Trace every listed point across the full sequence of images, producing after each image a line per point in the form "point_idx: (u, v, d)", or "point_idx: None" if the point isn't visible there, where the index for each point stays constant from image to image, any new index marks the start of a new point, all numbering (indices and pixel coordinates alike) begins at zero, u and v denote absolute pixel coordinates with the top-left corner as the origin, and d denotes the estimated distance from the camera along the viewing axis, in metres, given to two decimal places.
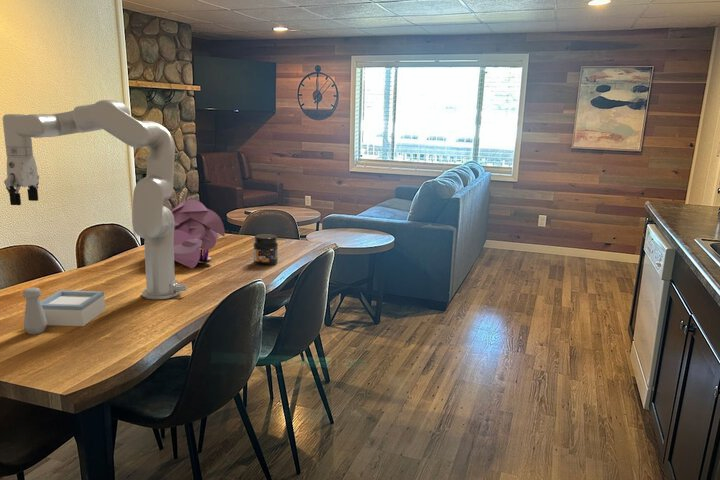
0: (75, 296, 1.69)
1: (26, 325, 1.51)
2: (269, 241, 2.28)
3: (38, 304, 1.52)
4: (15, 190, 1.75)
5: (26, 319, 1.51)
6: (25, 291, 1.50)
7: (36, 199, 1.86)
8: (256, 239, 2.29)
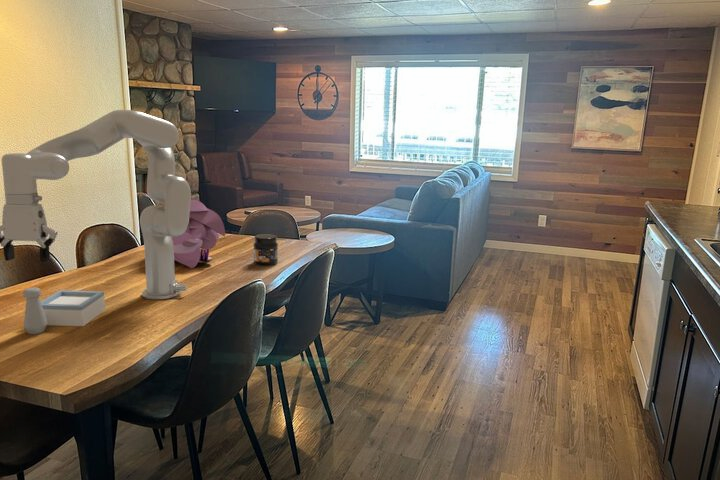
0: (75, 296, 1.69)
1: (26, 325, 1.51)
2: (269, 241, 2.28)
3: (39, 304, 1.52)
4: None
5: (26, 319, 1.51)
6: (25, 291, 1.50)
7: (14, 256, 1.50)
8: (256, 239, 2.29)
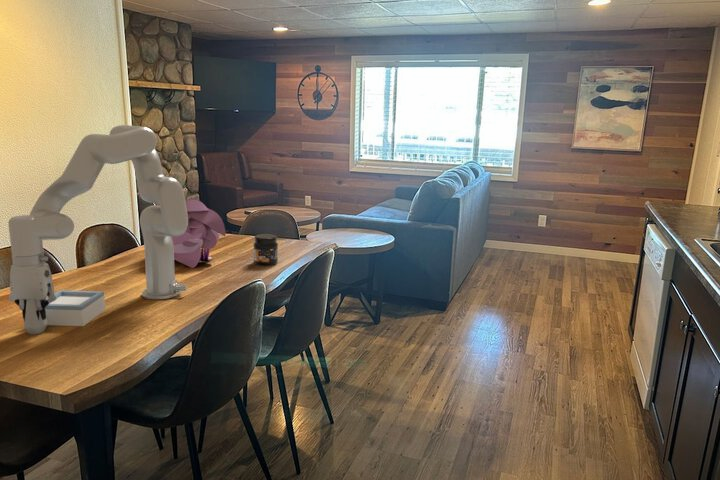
0: (75, 296, 1.69)
1: (27, 325, 1.51)
2: (269, 241, 2.28)
3: None
4: None
5: (26, 319, 1.51)
6: None
7: None
8: (256, 239, 2.29)
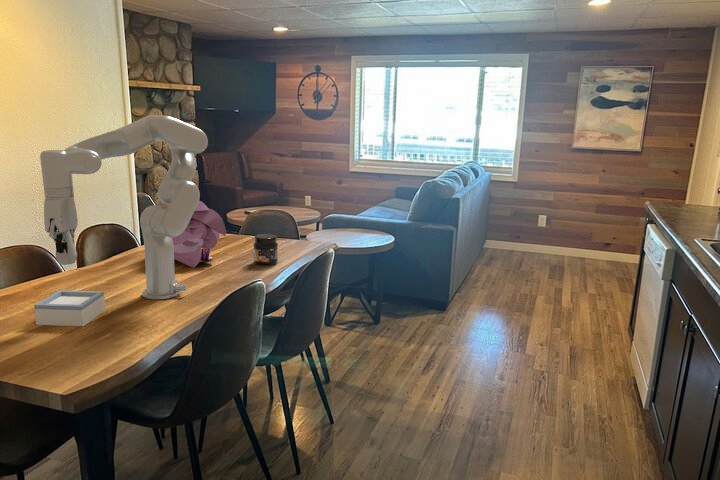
0: (75, 296, 1.69)
1: (73, 254, 1.60)
2: (269, 241, 2.28)
3: None
4: None
5: (71, 249, 1.60)
6: None
7: None
8: (256, 239, 2.29)
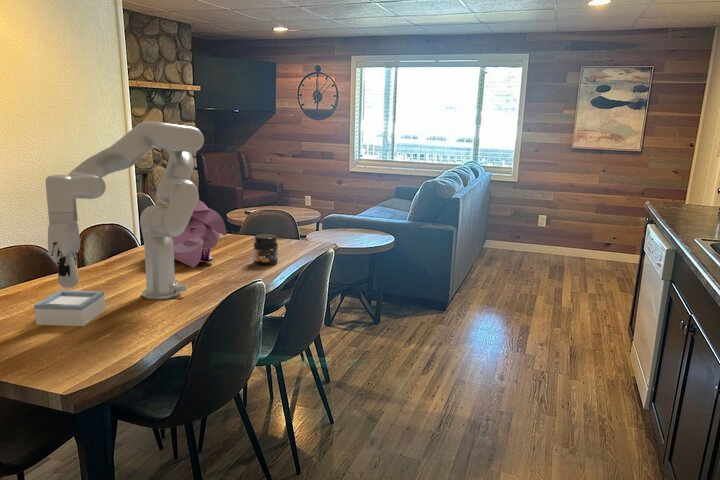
0: (75, 296, 1.69)
1: (76, 277, 1.62)
2: (269, 241, 2.28)
3: None
4: None
5: (73, 272, 1.62)
6: None
7: None
8: (256, 239, 2.29)
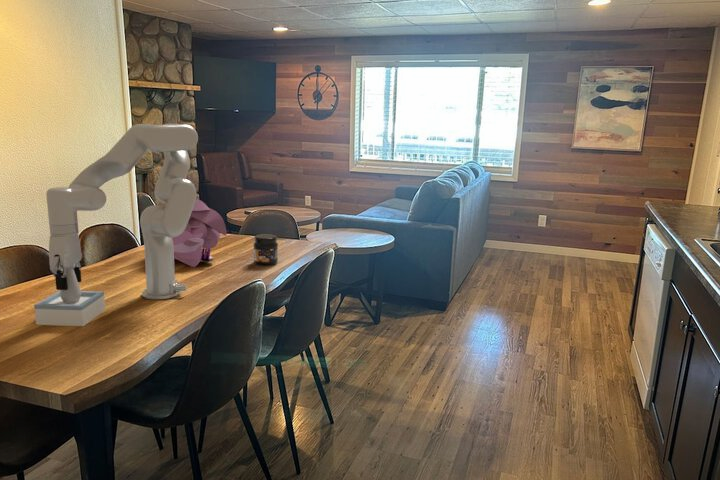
0: None
1: (78, 293, 1.63)
2: (269, 241, 2.28)
3: None
4: None
5: (75, 288, 1.63)
6: None
7: None
8: (256, 239, 2.29)
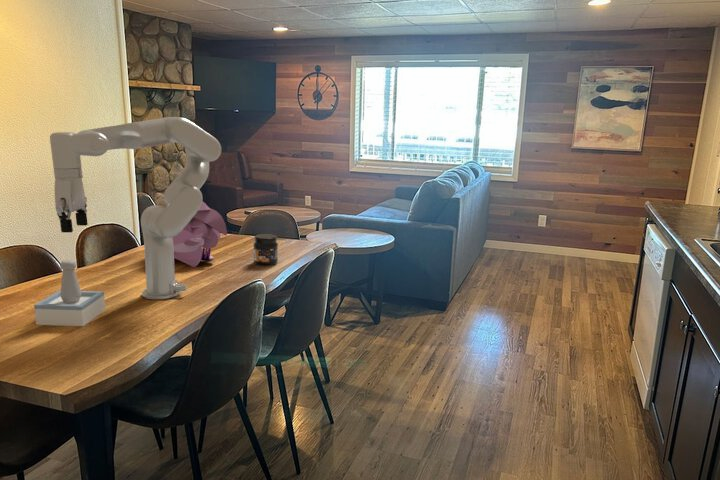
0: None
1: (78, 293, 1.63)
2: (269, 241, 2.28)
3: None
4: None
5: (76, 288, 1.63)
6: (71, 262, 1.61)
7: None
8: (256, 239, 2.29)
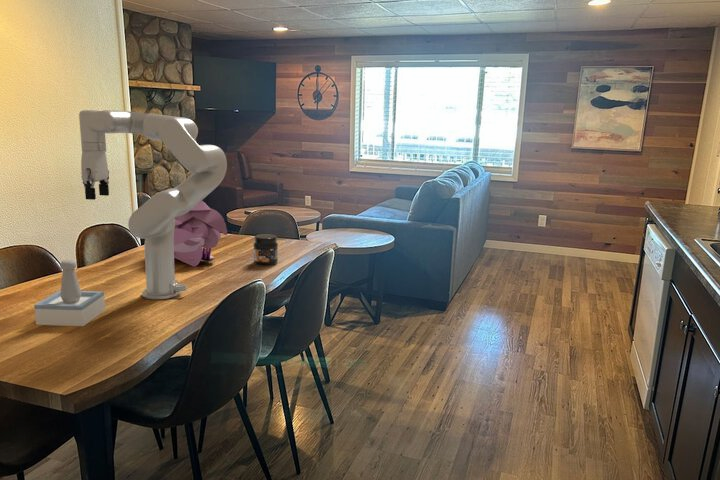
0: None
1: (78, 293, 1.63)
2: (269, 241, 2.28)
3: None
4: None
5: (76, 288, 1.63)
6: (71, 262, 1.61)
7: None
8: (256, 239, 2.29)
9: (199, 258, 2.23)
